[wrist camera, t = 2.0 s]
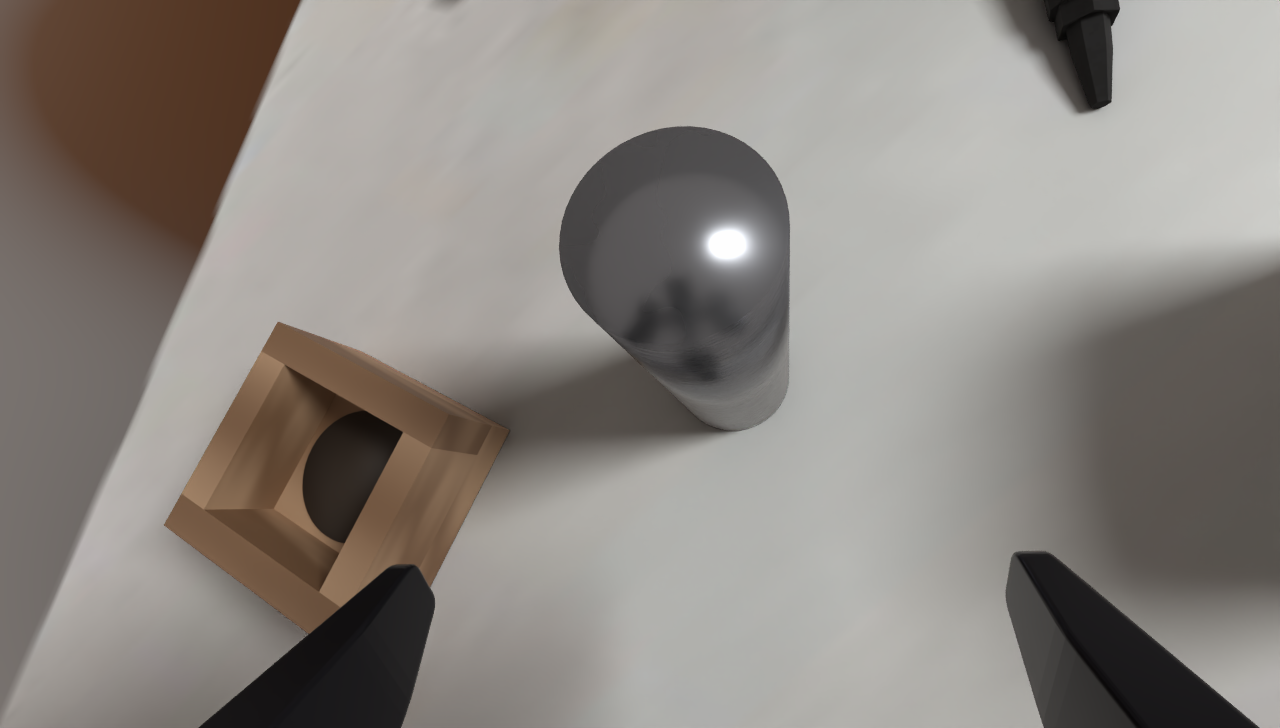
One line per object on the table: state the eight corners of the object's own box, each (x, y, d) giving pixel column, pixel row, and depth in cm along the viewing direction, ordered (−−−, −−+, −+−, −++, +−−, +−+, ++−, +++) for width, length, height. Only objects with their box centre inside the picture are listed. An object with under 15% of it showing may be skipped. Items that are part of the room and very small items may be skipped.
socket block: (412, 620, 23) (327, 648, 19) (268, 521, 25) (163, 525, 21) (509, 430, 24) (449, 414, 20) (360, 351, 26) (277, 321, 22)
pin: (760, 449, 21) (726, 382, 10) (660, 402, 23) (521, 292, 11) (807, 348, 22) (829, 165, 10) (706, 307, 23) (620, 100, 11)
